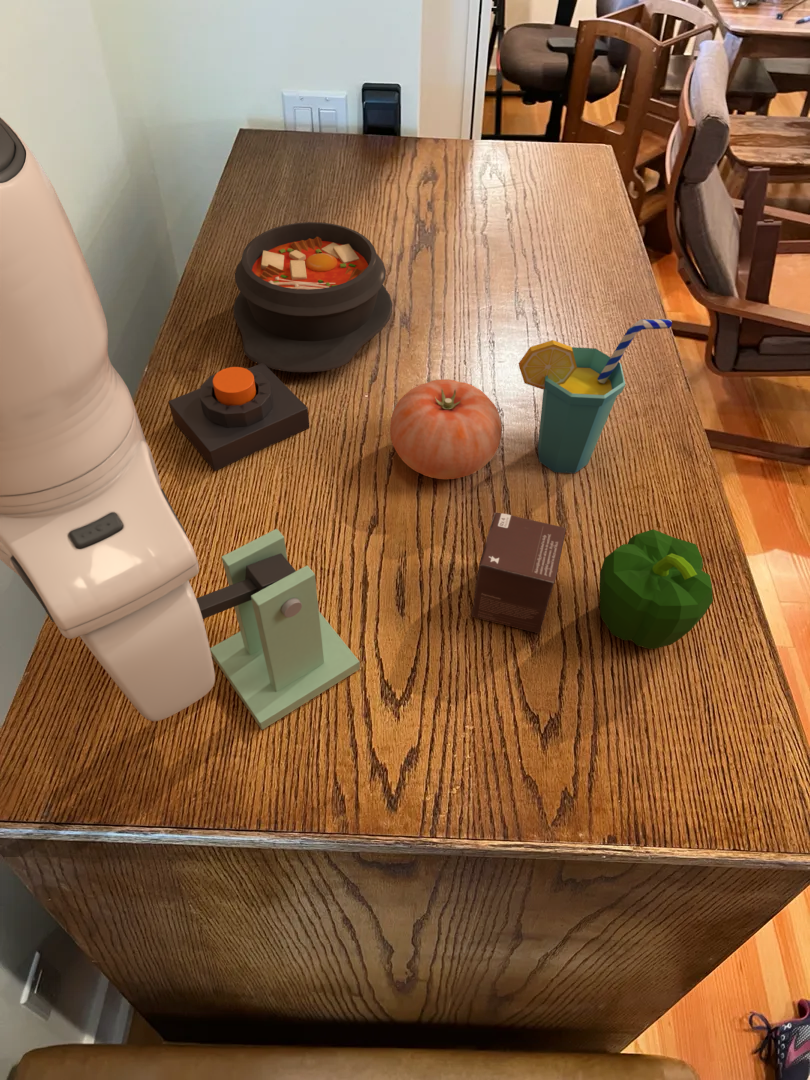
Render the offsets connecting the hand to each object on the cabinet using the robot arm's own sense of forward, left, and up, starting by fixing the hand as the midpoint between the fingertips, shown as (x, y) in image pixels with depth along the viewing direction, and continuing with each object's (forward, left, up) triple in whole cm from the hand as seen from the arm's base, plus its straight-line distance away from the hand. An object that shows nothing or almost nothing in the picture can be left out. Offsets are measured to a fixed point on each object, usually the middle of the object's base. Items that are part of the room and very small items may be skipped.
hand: (129, 629), depth 47 cm
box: (+29, -6, -14) cm, 32 cm away
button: (+21, +27, -10) cm, 35 cm away
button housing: (+21, +27, -14) cm, 37 cm away
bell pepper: (+36, -14, -14) cm, 41 cm away
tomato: (+35, +11, -14) cm, 39 cm away
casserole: (+37, +38, -14) cm, 55 cm away
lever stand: (+10, 0, -14) cm, 17 cm away
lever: (+5, 0, -3) cm, 6 cm away
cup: (+46, +4, -14) cm, 48 cm away
